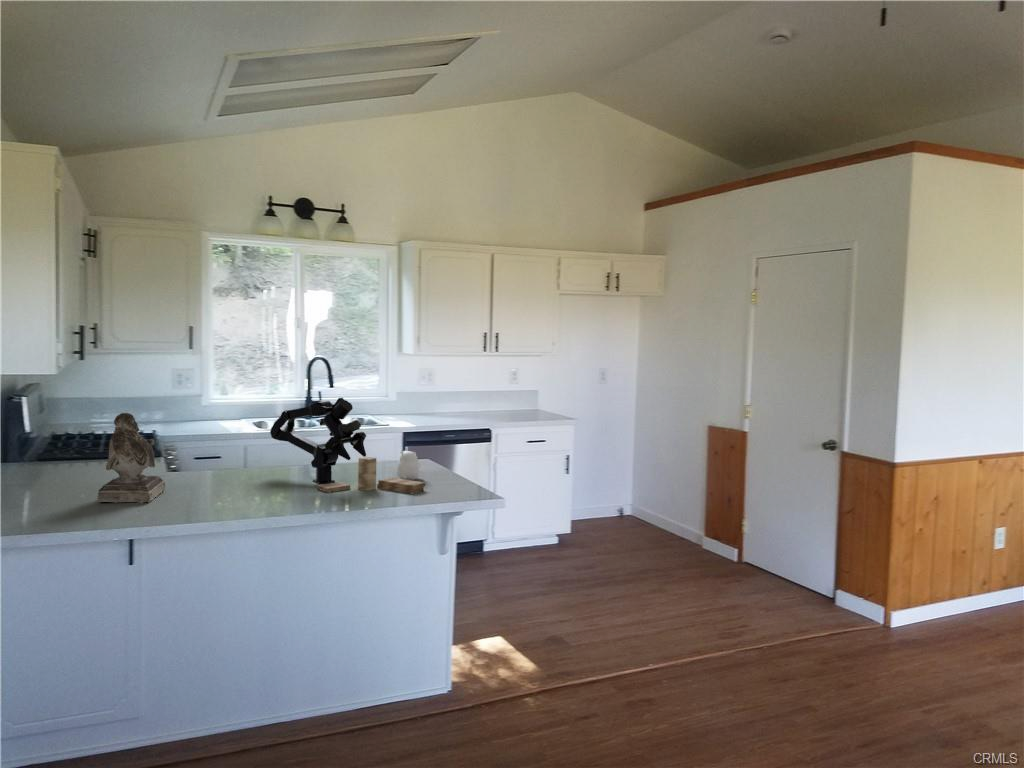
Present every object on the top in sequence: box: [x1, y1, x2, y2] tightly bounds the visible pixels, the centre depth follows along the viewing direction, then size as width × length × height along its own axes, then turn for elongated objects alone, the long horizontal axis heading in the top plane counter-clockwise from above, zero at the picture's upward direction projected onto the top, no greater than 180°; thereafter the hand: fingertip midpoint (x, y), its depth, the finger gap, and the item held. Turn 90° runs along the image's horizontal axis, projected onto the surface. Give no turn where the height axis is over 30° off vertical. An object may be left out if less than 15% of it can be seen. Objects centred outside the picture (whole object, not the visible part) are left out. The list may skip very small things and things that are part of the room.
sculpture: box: [97, 412, 166, 503], centre depth 262 cm, size 19×17×30 cm
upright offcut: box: [357, 456, 377, 491], centre depth 287 cm, size 5×4×12 cm
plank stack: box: [376, 476, 426, 494], centre depth 287 cm, size 17×7×3 cm, turn 62°
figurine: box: [396, 450, 422, 481], centre depth 305 cm, size 10×10×12 cm
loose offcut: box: [316, 481, 351, 493], centre depth 285 cm, size 7×10×2 cm
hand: (357, 457), depth 288 cm, fingers open, 9 cm apart
